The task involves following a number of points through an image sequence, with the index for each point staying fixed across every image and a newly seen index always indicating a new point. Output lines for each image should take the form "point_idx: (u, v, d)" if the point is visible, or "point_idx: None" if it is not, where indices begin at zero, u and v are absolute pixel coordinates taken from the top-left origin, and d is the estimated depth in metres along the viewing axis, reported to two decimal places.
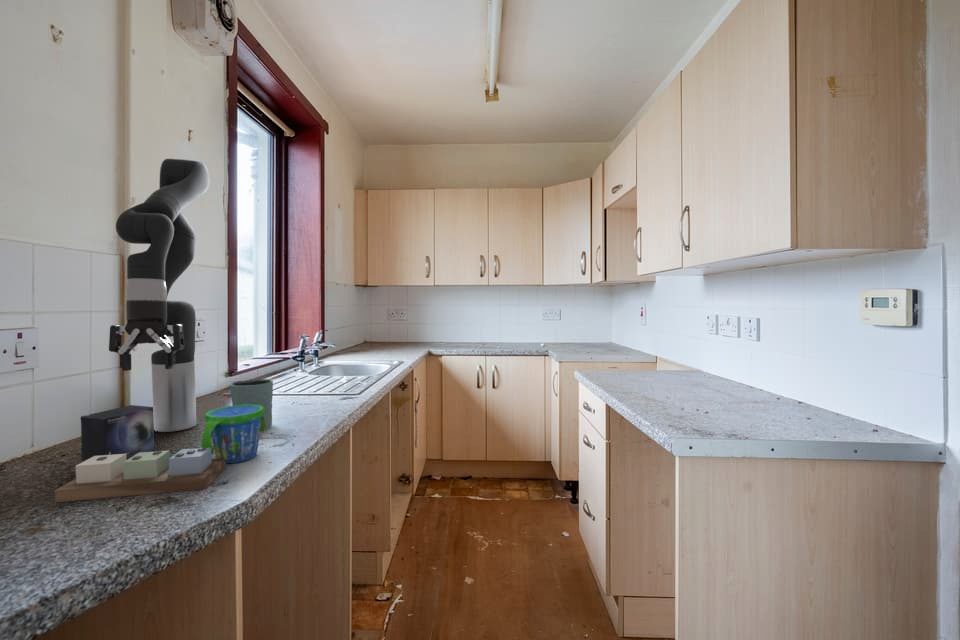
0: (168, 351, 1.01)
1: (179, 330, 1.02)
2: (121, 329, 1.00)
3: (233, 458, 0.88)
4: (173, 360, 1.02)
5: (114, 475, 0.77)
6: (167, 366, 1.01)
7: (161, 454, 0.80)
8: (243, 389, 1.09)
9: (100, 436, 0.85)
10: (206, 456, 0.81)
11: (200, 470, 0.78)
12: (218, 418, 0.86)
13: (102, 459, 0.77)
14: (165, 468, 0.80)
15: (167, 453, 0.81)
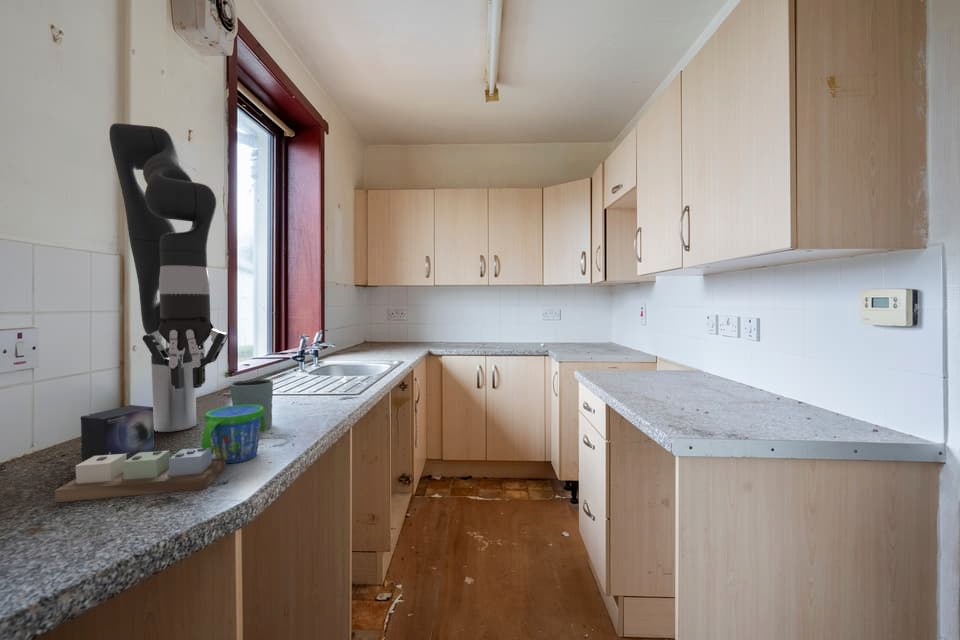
0: (197, 365, 0.79)
1: (222, 341, 0.80)
2: (155, 335, 0.78)
3: (233, 458, 0.88)
4: (203, 376, 0.80)
5: (114, 475, 0.77)
6: (196, 384, 0.79)
7: (161, 454, 0.80)
8: (243, 389, 1.09)
9: (100, 436, 0.85)
10: (206, 456, 0.81)
11: (200, 470, 0.78)
12: (218, 418, 0.86)
13: (102, 459, 0.77)
14: (165, 468, 0.80)
15: (167, 453, 0.81)
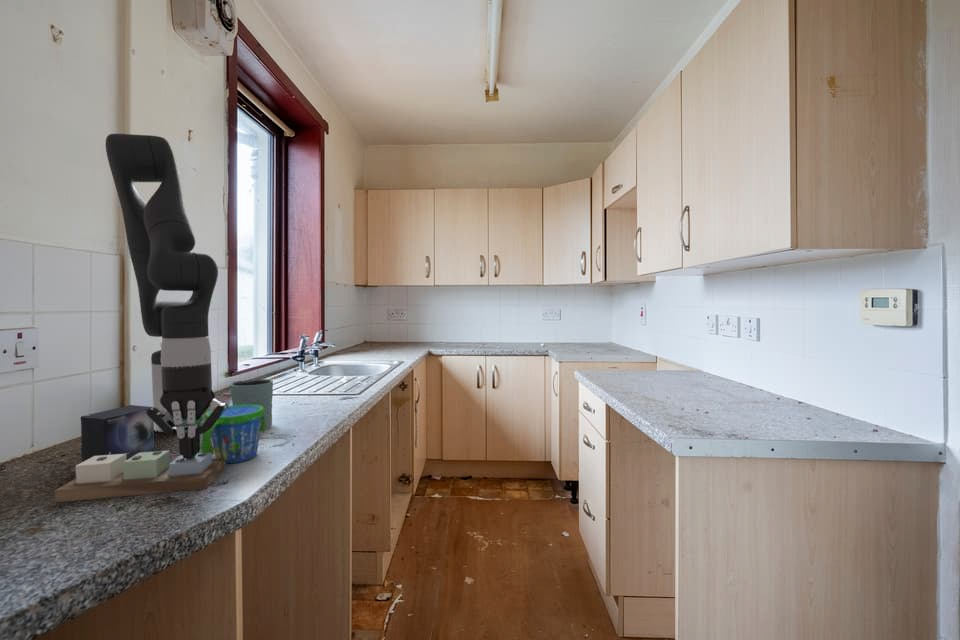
0: (191, 436, 0.79)
1: (220, 413, 0.80)
2: (159, 408, 0.78)
3: (233, 458, 0.88)
4: (197, 446, 0.80)
5: (114, 475, 0.77)
6: (190, 455, 0.79)
7: (161, 454, 0.80)
8: (243, 389, 1.09)
9: (100, 436, 0.85)
10: (206, 461, 0.81)
11: None
12: None
13: (102, 459, 0.77)
14: (165, 468, 0.80)
15: (167, 453, 0.81)
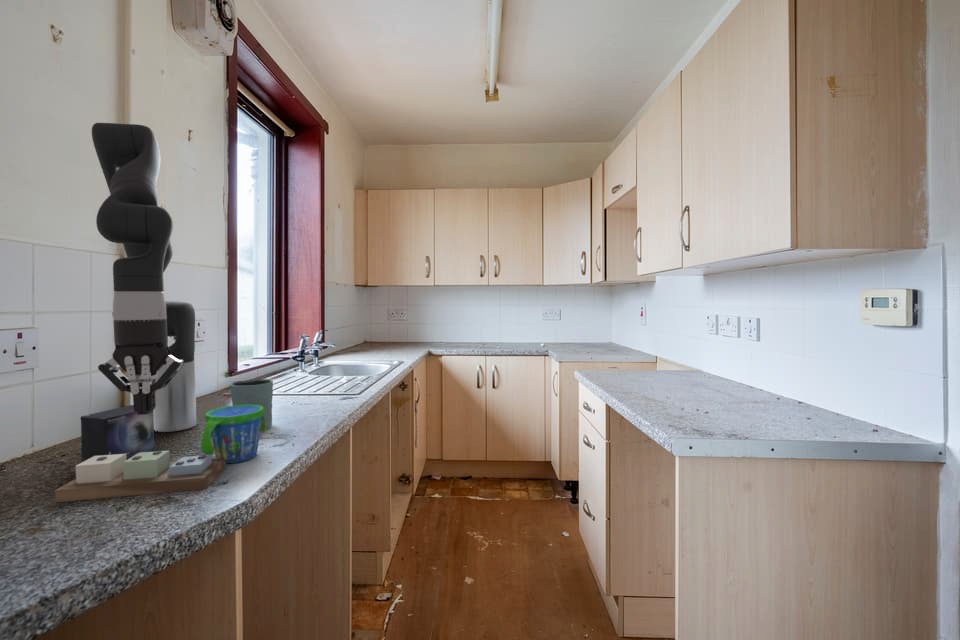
0: (146, 392, 0.78)
1: (176, 369, 0.79)
2: (111, 363, 0.77)
3: (233, 458, 0.88)
4: (153, 402, 0.79)
5: (114, 475, 0.77)
6: (145, 411, 0.78)
7: (161, 454, 0.80)
8: (243, 389, 1.09)
9: (100, 436, 0.85)
10: (206, 464, 0.81)
11: None
12: (218, 418, 0.86)
13: (102, 459, 0.77)
14: (165, 468, 0.80)
15: (167, 453, 0.81)
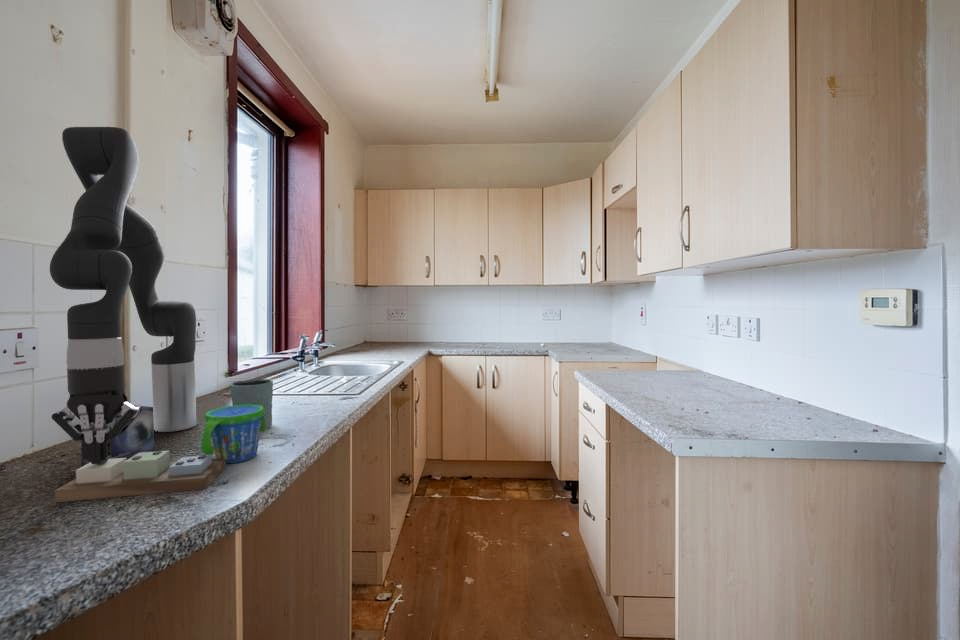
0: (100, 441, 0.76)
1: (132, 417, 0.77)
2: (66, 411, 0.75)
3: (233, 458, 0.88)
4: (108, 451, 0.77)
5: None
6: (99, 460, 0.76)
7: (161, 454, 0.80)
8: (243, 389, 1.09)
9: None
10: (206, 464, 0.81)
11: None
12: (218, 418, 0.86)
13: None
14: (165, 468, 0.80)
15: (167, 453, 0.81)
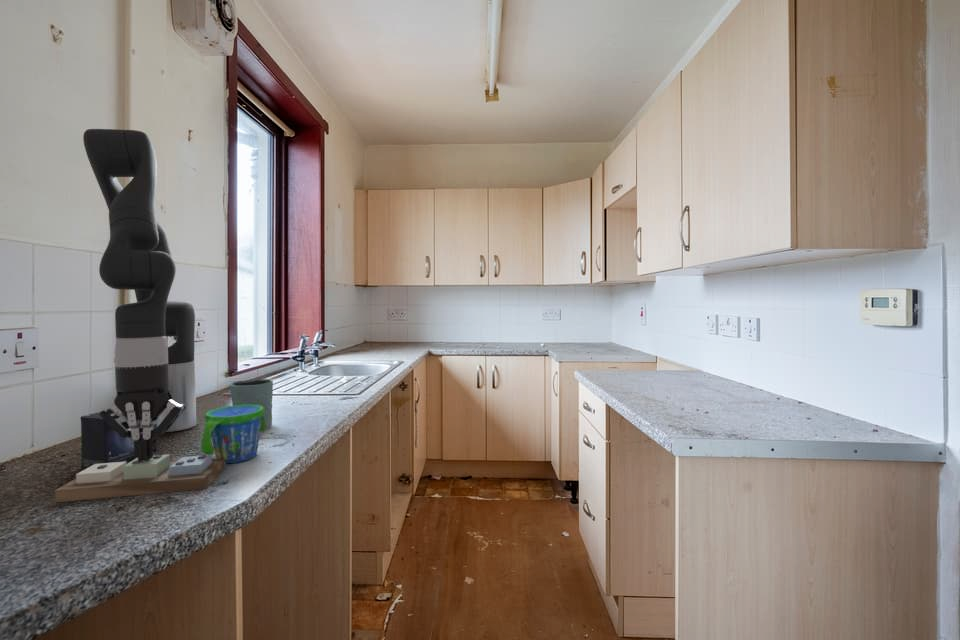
0: (146, 438, 0.77)
1: (177, 414, 0.79)
2: (113, 409, 0.77)
3: (233, 458, 0.88)
4: (153, 448, 0.78)
5: None
6: (145, 457, 0.77)
7: (161, 458, 0.80)
8: (243, 389, 1.09)
9: (100, 436, 0.85)
10: (206, 464, 0.81)
11: None
12: (218, 418, 0.86)
13: (102, 467, 0.77)
14: None
15: (167, 457, 0.81)
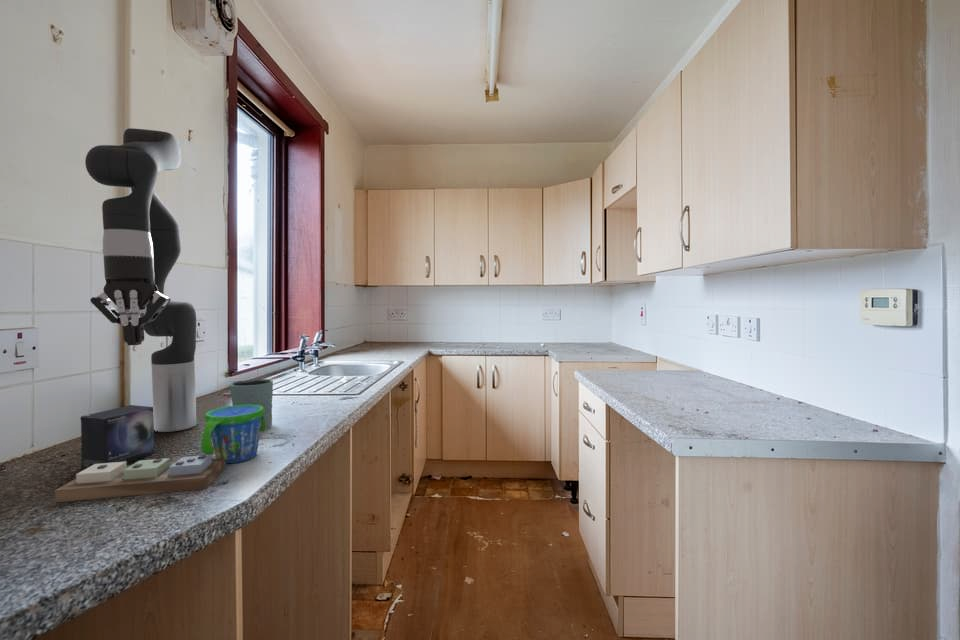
0: (134, 324, 0.84)
1: (162, 304, 0.86)
2: (103, 297, 0.83)
3: (233, 458, 0.88)
4: (141, 334, 0.85)
5: None
6: (134, 342, 0.84)
7: (161, 462, 0.80)
8: (243, 389, 1.09)
9: (100, 436, 0.85)
10: (206, 464, 0.81)
11: None
12: (218, 418, 0.86)
13: (102, 467, 0.77)
14: None
15: (167, 461, 0.81)
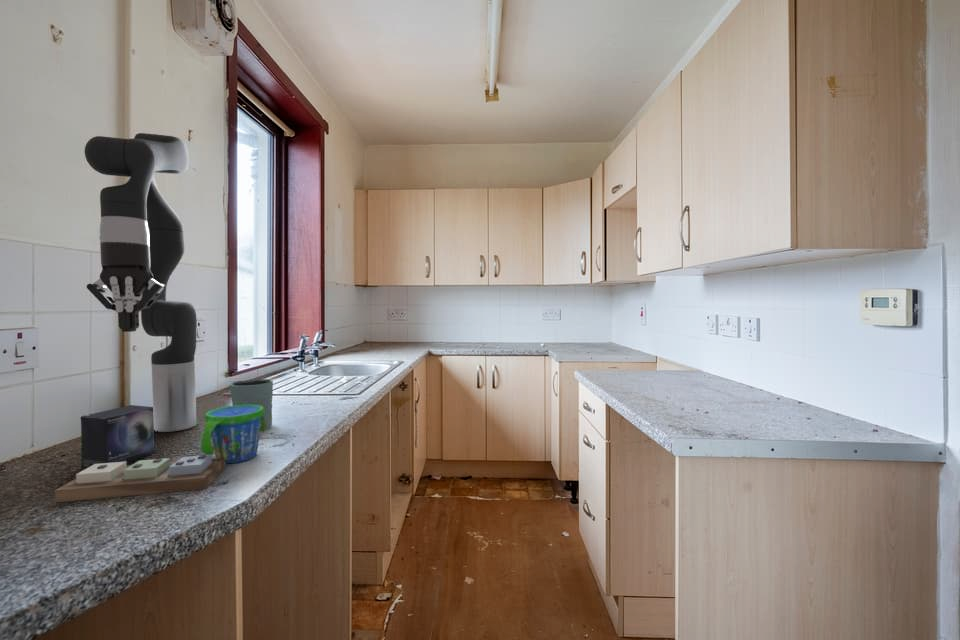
0: (129, 310, 0.85)
1: (157, 291, 0.87)
2: (99, 283, 0.84)
3: (234, 458, 0.88)
4: (136, 321, 0.86)
5: None
6: (129, 328, 0.85)
7: (161, 462, 0.80)
8: (243, 389, 1.09)
9: (100, 436, 0.85)
10: (206, 464, 0.81)
11: None
12: (218, 418, 0.86)
13: (102, 467, 0.77)
14: None
15: (167, 461, 0.81)
